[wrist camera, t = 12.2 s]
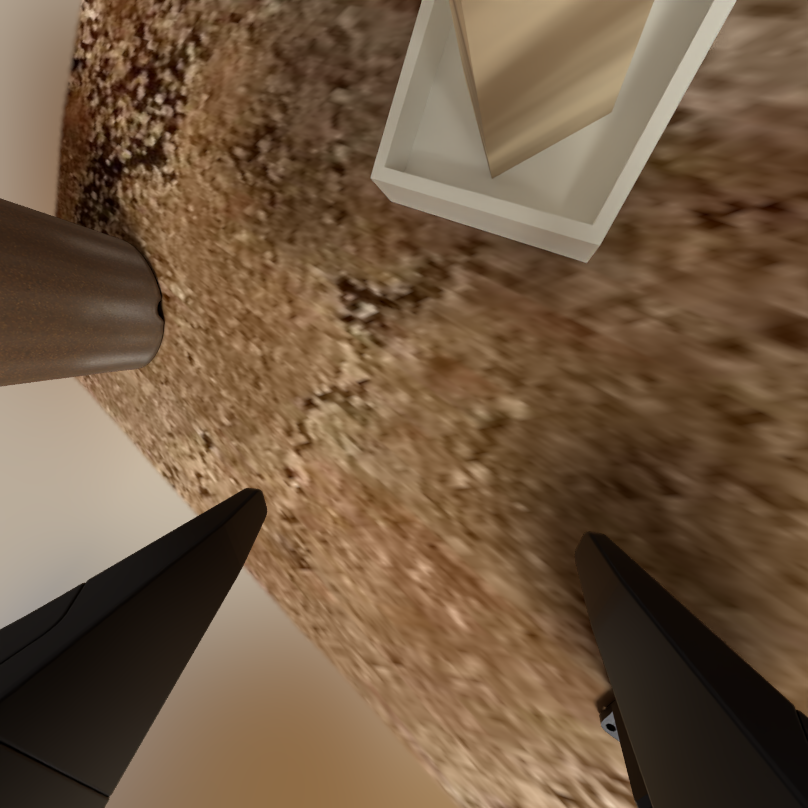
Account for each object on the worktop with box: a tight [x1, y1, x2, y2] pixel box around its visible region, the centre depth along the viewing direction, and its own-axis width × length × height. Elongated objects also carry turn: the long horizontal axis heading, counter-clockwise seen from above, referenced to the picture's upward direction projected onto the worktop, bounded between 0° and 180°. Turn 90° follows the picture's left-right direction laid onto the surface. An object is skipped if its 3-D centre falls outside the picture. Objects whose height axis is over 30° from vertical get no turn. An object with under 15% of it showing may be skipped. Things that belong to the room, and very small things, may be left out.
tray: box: [371, 0, 736, 263], centre depth 12 cm, size 11×11×2 cm
